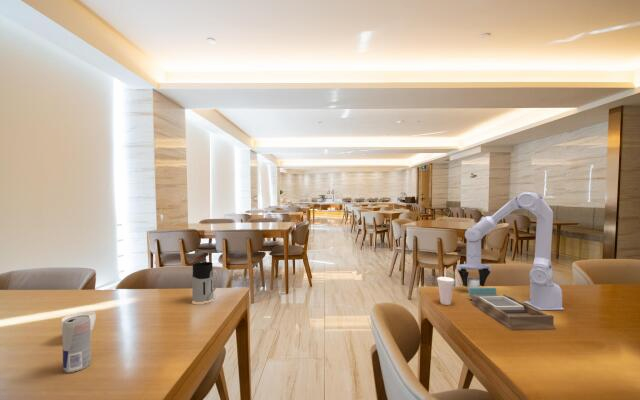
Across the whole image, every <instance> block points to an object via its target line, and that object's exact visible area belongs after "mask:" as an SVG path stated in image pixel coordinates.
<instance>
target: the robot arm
mask: <svg viewBox="0 0 640 400" xmlns="http://www.w3.org/2000/svg"><path fill="white" fill-rule="evenodd" d="M520 209H521V210H522V209H525V210H527V211H529V212H530V213H531V214H533V215H534V216H535V217H536V230H535V231H536V232H535V247H534V258H533V263H532V268H531V270H530V271H529V274H528V275H529V278H530V279H529V300H525V301H524V302H523V303H525V304H527V305H529V306H531V307H533V308H535V309H537V310H539V311H562V310H565V308H564V307H563V290H562V288H561V287H560V285H558V283H555V282H553V281H552V278H553V277H554V276H555V271H554V269H553V267H552V260H551V258H552V257H551V256H552V255H551V254H552V240H553V225H554V224H553V222H554V221H553V220H554V212H553V210H552V208H551V207H550V206H549V204H548V203H547V201H546V200H545V198H544V197H543V196H541V195H540V194H538V193H537V192H534V191H530V192H529V191H524V192H521V193H519V194H518V195H517V196H515V197H512V198H511V199H510V200H508V202H506V203H505V204H504V205H502V207H500V208H499V209H498V210H497V211H496V212H495V213H493V214H492V215H491V216H489V215H487V216H482V217H481V218H480V220H479V222H477V223H476V224H472V225H471V227H470V228H467V229H466V230H465V233H464V237H465V239H466V263H462V264H456V270H457V272H458V274H459V276H460V278H461V281H462V282H461V283H462V286H464V287H467V288H468V277H469V271H468V270H473V271H474V270H478V278H479V279H480V287H485V284H486V281H487V278H488V277H489V275H490V274H491V270H492V266H491V264H486V263H485V264H483V263H482V239H483V238H484V237H485V236H486V235H487V234H489V233H490V232H492V230H494V229H496V228H497V226H498V222H499V221H501V220H502V219H503V218H505V217H506V216H508V215H509V214H511V213H512V212H513V211H515V210H516V211H517V210H520Z"/></svg>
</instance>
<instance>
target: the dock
mask: <svg viewBox="0 0 640 400" xmlns="http://www.w3.org/2000/svg"><path fill="white" fill-rule="evenodd" d="M502 296H505V297H507V298H508V299H510V300H512V301H514V302H516V303H518V304H520V305H522V306H524V309H526V312H522V313H505V312H503V311H501V310H500V309H498V308H496V307H495V306H493V305H491V304H489V303H488V302H486V301H484V300H483V299H481V298H479V297H478V296H476V295H472V298H471V299H472V300H471V301H470V305H472V306H474V307H475V308H477V309H478V310H479V311H481V312H483V313H484V314H486V315H487V316H489V317H491V318H492V319H494V320H495V321H497V322H498V323H499V324H501V325H503V326H504V327H506V328H507V329H508V330H510V331H512V330H514V331H515V330H516V331H517V330H524V331H525V330H553V329H554V330H555V329H556V325H555V324H554V322H555V321H554V318H555V317H554V315H552V314H547V313H545V312H542V310H538V309H536V308H534V307H532V306H530V305H528V304H526V303H524V302H523V301H520V300H519V299H516V298H514V297H512V296H511V295H509V294H505V293H504V294H503V295H502Z"/></svg>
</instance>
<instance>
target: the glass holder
mask: <svg viewBox="0 0 640 400" xmlns="http://www.w3.org/2000/svg"><path fill="white" fill-rule="evenodd" d="M213 272H214V273H215V284H214V274H213ZM191 275H192V277H191V280H192V281H191V283H192V287H191V288H192V289H191V291H192V297H191V298H192V299H191V301H195V302H204V301H209V300H211V299H213V297H214V291H215V290H216V289H217V286H218V283H219V274H218V272H217V270H216V269H213V262H211V261H201V262H195V263H193V264H192V274H191Z"/></svg>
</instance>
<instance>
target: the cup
mask: <svg viewBox="0 0 640 400" xmlns="http://www.w3.org/2000/svg"><path fill="white" fill-rule="evenodd" d="M80 315H88V316H89V318H90V326H91V332H92V331H93V329H94V327H95V323H96V319H97V315H96V312H95V311H91V310H85V311H79V312H75V313H70V314H68V315H66V316H64V317H63V318H62V319H61V322H60V323H61V326H62V325H63V322H64V321H65V320H66V319H69V318H71V317H75V316H80Z"/></svg>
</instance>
